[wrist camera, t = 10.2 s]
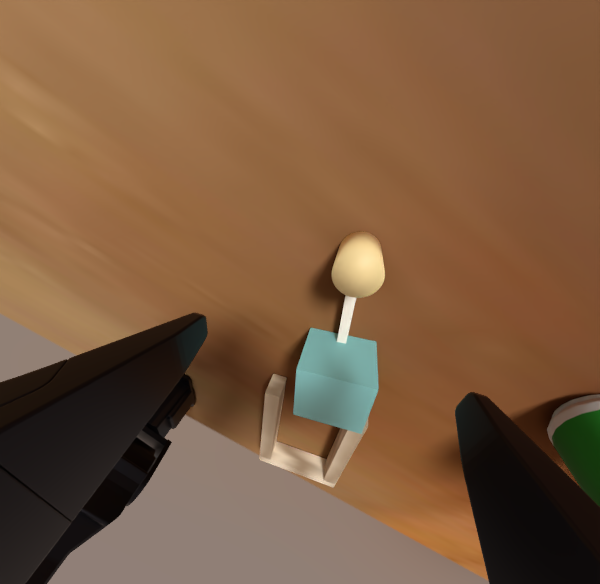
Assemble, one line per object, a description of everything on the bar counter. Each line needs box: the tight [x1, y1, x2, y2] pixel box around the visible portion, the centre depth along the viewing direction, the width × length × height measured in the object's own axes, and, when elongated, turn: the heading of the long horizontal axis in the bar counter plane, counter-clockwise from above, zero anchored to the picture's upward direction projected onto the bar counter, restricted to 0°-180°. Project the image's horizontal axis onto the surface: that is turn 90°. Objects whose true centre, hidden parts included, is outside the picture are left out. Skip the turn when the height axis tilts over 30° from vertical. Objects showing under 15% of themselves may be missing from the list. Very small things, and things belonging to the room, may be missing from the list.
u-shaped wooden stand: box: [259, 374, 368, 488], centre depth 28 cm, size 11×16×2 cm
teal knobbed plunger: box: [293, 231, 385, 434], centre depth 18 cm, size 6×16×5 cm, turn 176°
